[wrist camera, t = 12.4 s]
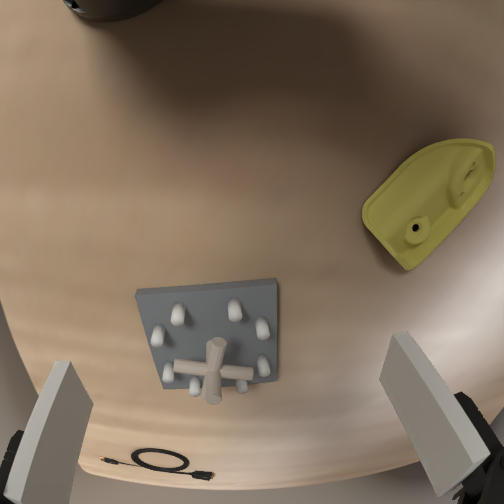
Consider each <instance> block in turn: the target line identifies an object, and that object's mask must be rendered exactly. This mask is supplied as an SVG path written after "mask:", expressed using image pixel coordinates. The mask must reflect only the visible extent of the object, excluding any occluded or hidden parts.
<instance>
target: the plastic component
mask: <svg viewBox="0 0 504 504" xmlns="http://www.w3.org/2000/svg"><path fill="white" fill-rule="evenodd" d="M495 168H496V158H495V149H494V147H493V146H492V145H491V144H490V143H488V142H485V141H481V140H476V139H464V138H461V139H450V140H445V141H441V142H437V143H434V144H432V145H429V146H426V147H425V148H423V149H421V150H419V151H417V152H416V153H415V154H413V155H412V156H410V157H409V158H408V159H407V160H405V161H404V162H403V163H402V164H401V165H400V166H399V167H398V169H397V170H396V171H395V172H394V173H393V174H392V175H391V176H390V177H389V178H388V179H387V180H386V181H385V182H384V183H383V184H382V185H381V186H380V187H379V188H378V189H377V190H376V191H375V192H374V193H373V194H372V195H371V196H370V197H369V198H368V199H367V200H366V202H365V204H364V206H363V209H362V219H363V222H364V224H365V226H366V227H367V228H368V229H369V230H370V231H371V232H372V234H373V235H374V236H375V237H376V238H377V239H378V240H379V241H380V242H381V244H382V245H383V246H384V247H385V248H386V249H387V250H388V251H389V253H390V254H391V255H392V256H393V257H394V258H395V259H396V260H397V261H398V262H399V264H400V265H401V266H402V267H403V268H404V269H405V270H407V271H408V270H412V269H414V268H415V267H417V266H418V265H419V264H420V263H421V262H422V261H423V260H425V259H426V258H427V257H428V256H429V255H430V254H431V253H432V251H433V250H434V249H435V248H436V247H437V246H438V245H439V244H440V243H441V242H442V241H443V240H444V239H445V238H446V237H447V236H448V235H449V234H450V233H451V232H452V231H453V230H454V229H455V227H456V226H457V225H458V224H459V223H460V222H461V221H462V220H463V219H464V218H465V216H466V215H467V214H468V213H469V212H470V211H471V210H472V208H473V207H474V206H475V205H476V204H477V203H478V201H479V200H480V199H481V197H482V196H483V195H484V193H485V192H486V190H487V189H488V187H489V185H490V183H491V181H492V178H493V176H494V173H495ZM414 224H418V226H419V228H418V230H417V231H415V232H414V231H413V230H412V226H413V225H414Z"/></svg>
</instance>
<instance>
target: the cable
mask: <svg viewBox="0 0 504 504" xmlns="http://www.w3.org/2000/svg"><path fill="white" fill-rule="evenodd" d="M144 452H158V453H164V454H169V455H172V456H175V457H177V458H179V459H181V460H182V461H183V462H184V464H183V465H182V466H180V467H176V468H162V467H156V466H152V465H149V464H147V463H145V462H143V461H141V460H140V459H139V458H138V454H140V453H144ZM131 458H132V460H133V461H134V462H135V463H137V464H138V465H140V466H139V467H145V468H147V469H150V470H154V471H161V472H169V473H177V474H189V475H192V477H193V478H196V479H202V480H207V481H209V480H210V479H213V477H214V473H212V472H204V471H195V472H192V473H183V472H173V471H180V470H184V469H186V468H187V467H188V464H189V460H188V459H187V458H186V457H184V456H182V455H180V454H178V453H175V452H171V451H167V450H163V449H162V450H161V449H150V448H147V449H139V450H136V451H134V452H133V453H132V454H131ZM101 461H105V462H107V463H111V464H117V465H118V463H121V462H118V461H116V460H113V459H109V458H105V457H101ZM121 464H126V463H121ZM126 465H131V464H126ZM132 466H136V465H132Z"/></svg>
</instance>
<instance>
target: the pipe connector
mask: <svg viewBox="0 0 504 504" xmlns="http://www.w3.org/2000/svg"><path fill="white" fill-rule="evenodd" d="M226 344H227V342H226V340H225V339H223V338H220V337H215V338H213V339H212V340H210V341H208V342H207V344H206V362H198V361H190V360H183V359H176V358H175V359H174V368H173V372H178V373H185V374H193V375H200V376H204V381H203V386H202V391H201V396H202V397H203V398H204V399H206V401H207V403H209V404H213V405H215V404H219V403H220V402H221V401H222V395H221V378H228V379H238V380H252V378H253V367H242V366H232V365H223V364H222V361H223V357H224V352H225V348H226Z"/></svg>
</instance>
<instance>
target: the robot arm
mask: <svg viewBox="0 0 504 504" xmlns="http://www.w3.org/2000/svg"><path fill="white" fill-rule="evenodd" d="M63 1H64V3H65V4H66V6H67V7H68V8H69V9H71V10H72V11H73V12H75V13H76V14H78V15H80V16H81V17H83V18H86V19H88V20H92V21H98V22H112V21H118V20H123V19H127V18H130V17H133V16H136V15H138V14H140V13H143V12H145V11H147V10H148V9H150V8H152V7H153V6H155V5H157V4H158V3H159V2H161V1H162V0H63ZM379 380H380V382H381V384H382V386H383V388H384V389H385V391H386V393H387V395H388V397H389V399H390V401H391V403H392V405H393V407H394V409H395V410H396V412H397V414H398V416H399V418H400V420H401V422H402V424H403V426H404V428H405V430H406V432H407V434H408V436H409V438H410V440H411V442H412V444H413V446H414V448H415V450H416V452H417V454H418V456H419V458H420V461H421V463H422V465H423V467H424V469H425V471H426V473H427V475H428V477H429V480H430V482H431V483H432V486H433V488H434V490H435V492H436V495H437V497H440V496H442V495H444V494H446V493H448V492H450V491H452V490H454V489H455V488H456V487H457V486H458V485H460V484H461V483H462V485H463V488H462V489H461V490H459V491H458V492H457V493H456V494H455V495H454V497H453V499H452V500H455V499H456V498H457V497H459V496H460V497H459V499H458V504H504V447H503V446H502V444H501V443H500V442H499V440H498V438H497V437H496V435H495V434H494V432H493V431H492V429H491V428H490V426H489V424H488V423H487V421H486V420H485V418H483V415H482V414H481V412H480V411H478V408H477V406H476V405H475V404H474V402H473V401H472V399H471V398H469V397H468V396H467V395H465V394H464V393H463V392H459V393H457V394H454V395H453V394H452V392H451V391H450V389H449V388H448V386H447V385H446V383H445V382H444V380H443V379H442V377H441V376H440V375H439V373H438V372H437V370H436V369H435V368H434V366H433V365H432V363H431V362H430V360H429V359H428V358H427V356H426V355H425V354H424V352H423V351H422V349H421V348H420V347H419V345H418V344H417V343H416V341H415V340H414V339H413V337H412V336H411V334H410V333H409V332H408V331H405V332H401V333H396V334H393V335H392V338H391V342H390V345H389V349H388V352H387V356H386V359H385V362H384V366H383V369H382V372H381V375H380V378H379ZM92 407H93V402H92V400H91V398H90V397H89V395H88V393H87V391H86V390H85V388H84V386H83V384H82V382H81V380H80V379H79V377H78V375H77V373H76V371H75V369H74V367H73V365H72V363H71V361H58V360H56V361H55V363H54V365H53V367H52V370H51V372H50V374H49V376H48V378H47V380H46V382H45V384H44V387H43V389H42V391H41V393H40V396H39V398H38V400H37V402H36V405H35V407H34V409H33V412H32V414H31V417H30V419H29V422H28V424H27V427H26V429H25V431H21V430H18V431H17V432H16V433H15V434H14V436H13V437H12V438H11V440H10V442H9V445H8V448H7V452H6V453H5V456H4V460H3V461H2V464H1V467H0V504H69V499H70V494H71V490H72V485H73V480H74V476H75V471H76V467H77V463H78V459H79V455H80V451H81V447H82V443H83V439H84V435H85V432H86V428H87V424H88V421H89V417H90V414H91V411H92Z"/></svg>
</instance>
